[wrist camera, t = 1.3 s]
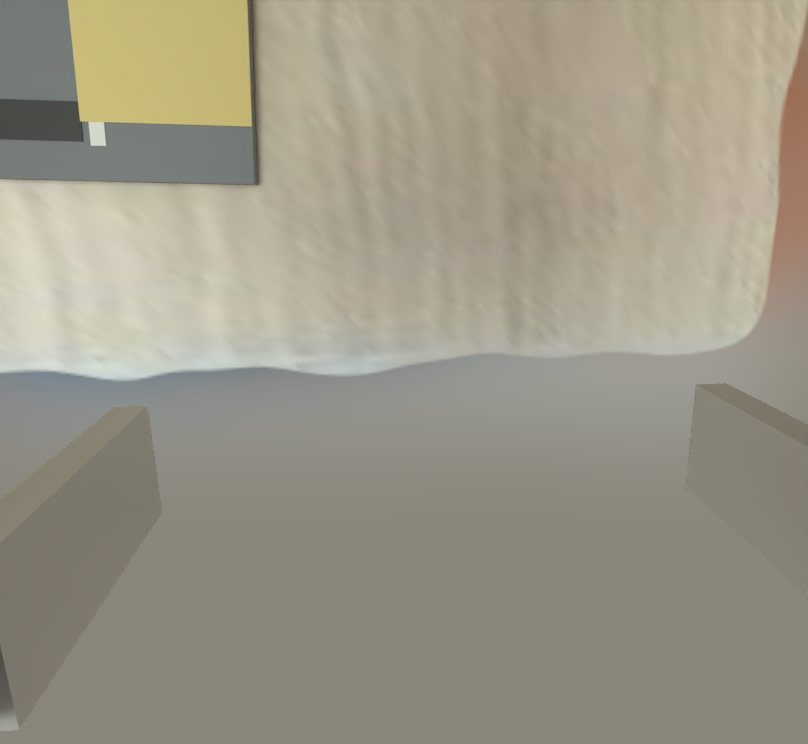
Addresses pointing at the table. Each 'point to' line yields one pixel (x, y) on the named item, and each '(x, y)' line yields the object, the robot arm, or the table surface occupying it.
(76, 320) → the table surface
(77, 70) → the pad
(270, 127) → the table surface
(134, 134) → the panel
